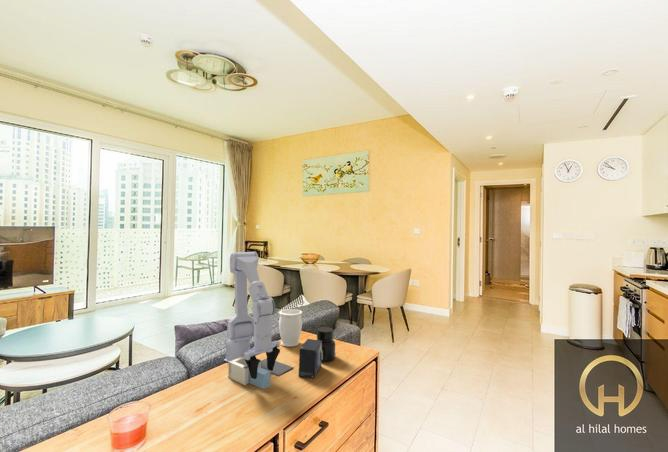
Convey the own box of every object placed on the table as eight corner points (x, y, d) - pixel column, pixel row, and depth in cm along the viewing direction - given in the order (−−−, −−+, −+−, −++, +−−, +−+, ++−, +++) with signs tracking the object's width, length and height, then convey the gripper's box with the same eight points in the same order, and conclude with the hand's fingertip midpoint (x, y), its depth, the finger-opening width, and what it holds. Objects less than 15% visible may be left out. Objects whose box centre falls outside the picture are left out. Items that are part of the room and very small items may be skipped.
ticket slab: (243, 380, 112) (244, 366, 112) (250, 377, 115) (250, 363, 115) (263, 389, 106) (263, 374, 106) (270, 386, 109) (270, 371, 109)
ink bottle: (312, 354, 136) (312, 326, 136) (332, 352, 138) (332, 325, 138) (316, 364, 127) (316, 333, 127) (337, 362, 129) (338, 332, 129)
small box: (315, 379, 114) (315, 350, 114) (297, 377, 115) (298, 348, 115) (322, 366, 124) (322, 339, 124) (306, 364, 126) (306, 338, 126)
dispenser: (228, 377, 114) (228, 360, 114) (243, 370, 120) (244, 353, 120) (245, 385, 109) (245, 367, 109) (260, 377, 114) (260, 360, 114)
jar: (275, 347, 143) (276, 313, 143) (282, 339, 153) (283, 307, 153) (298, 349, 141) (298, 315, 141) (304, 340, 152) (304, 309, 151)
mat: (252, 365, 124) (252, 364, 124) (267, 358, 130) (267, 357, 130) (278, 376, 116) (278, 375, 116) (293, 368, 122) (293, 367, 122)
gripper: (254, 342, 101) (253, 385, 101) (286, 331, 113) (285, 369, 113) (240, 338, 105) (239, 379, 105) (272, 327, 117) (271, 364, 117)
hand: (262, 373), depth 109 cm, fingers open, 7 cm apart
